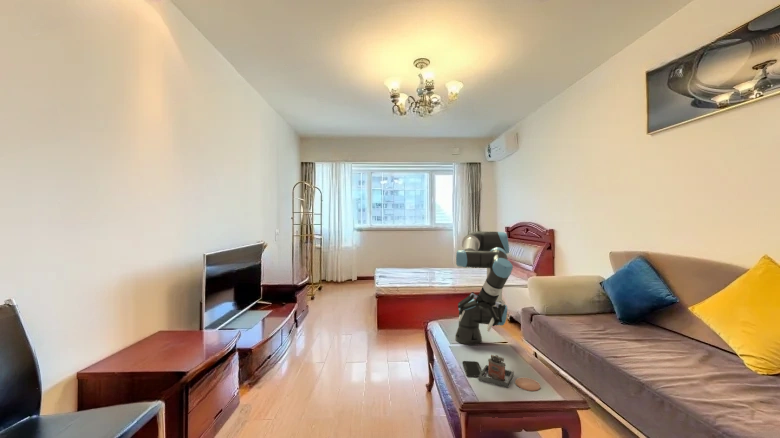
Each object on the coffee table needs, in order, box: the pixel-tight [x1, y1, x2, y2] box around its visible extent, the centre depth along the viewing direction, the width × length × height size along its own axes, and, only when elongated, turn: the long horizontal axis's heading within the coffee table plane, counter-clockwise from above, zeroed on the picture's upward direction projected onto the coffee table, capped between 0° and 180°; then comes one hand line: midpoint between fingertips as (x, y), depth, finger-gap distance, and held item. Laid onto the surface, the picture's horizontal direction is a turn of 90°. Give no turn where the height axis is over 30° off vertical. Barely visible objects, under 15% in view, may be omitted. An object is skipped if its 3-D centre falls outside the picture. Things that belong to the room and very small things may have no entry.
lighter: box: [487, 354, 507, 382], centre depth 150 cm, size 8×3×10 cm, turn 44°
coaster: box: [514, 377, 541, 392], centre depth 145 cm, size 10×10×1 cm
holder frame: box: [478, 364, 515, 389], centre depth 150 cm, size 13×13×2 cm
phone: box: [461, 360, 485, 379], centre depth 158 cm, size 8×1×15 cm
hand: (473, 324), depth 155 cm, fingers open, 13 cm apart
